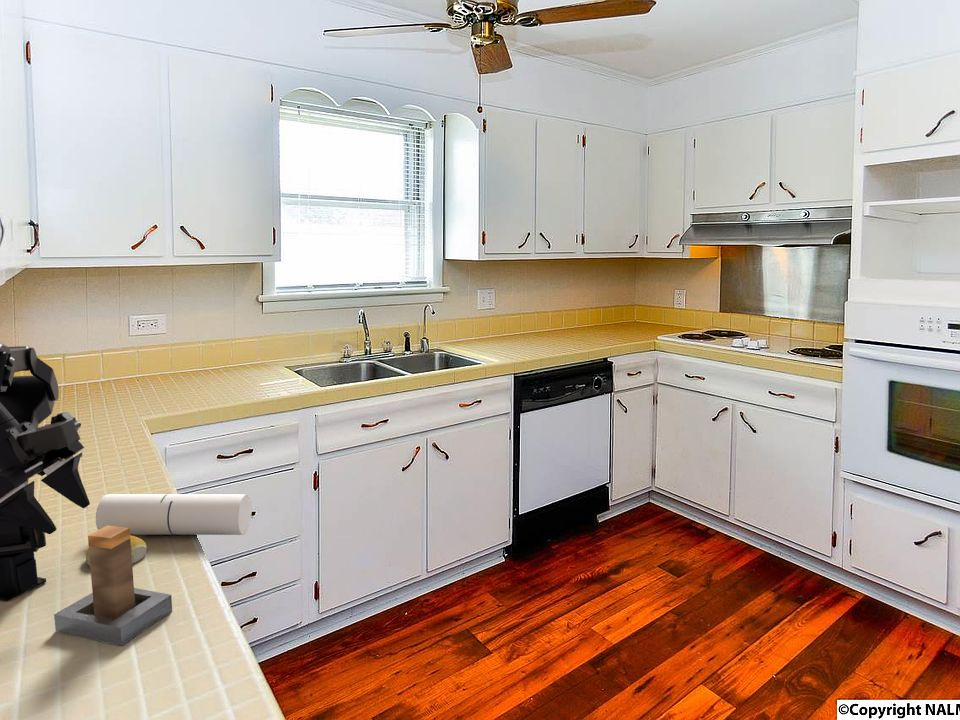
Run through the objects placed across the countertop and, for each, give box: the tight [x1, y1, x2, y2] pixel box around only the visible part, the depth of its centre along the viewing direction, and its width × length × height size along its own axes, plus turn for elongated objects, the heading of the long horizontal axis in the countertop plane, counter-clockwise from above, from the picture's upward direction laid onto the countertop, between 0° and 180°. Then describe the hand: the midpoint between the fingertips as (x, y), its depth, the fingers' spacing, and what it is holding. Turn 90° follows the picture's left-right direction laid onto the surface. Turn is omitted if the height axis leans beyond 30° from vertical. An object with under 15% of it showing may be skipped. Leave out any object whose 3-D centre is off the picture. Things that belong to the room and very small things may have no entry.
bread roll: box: [85, 535, 148, 567], centre depth 111 cm, size 8×9×4 cm
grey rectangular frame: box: [53, 587, 173, 647], centre depth 92 cm, size 11×9×2 cm
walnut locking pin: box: [87, 526, 135, 620], centre depth 91 cm, size 4×4×13 cm
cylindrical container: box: [95, 493, 253, 536], centre depth 121 cm, size 7×7×25 cm
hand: (71, 518), depth 94 cm, fingers open, 9 cm apart
